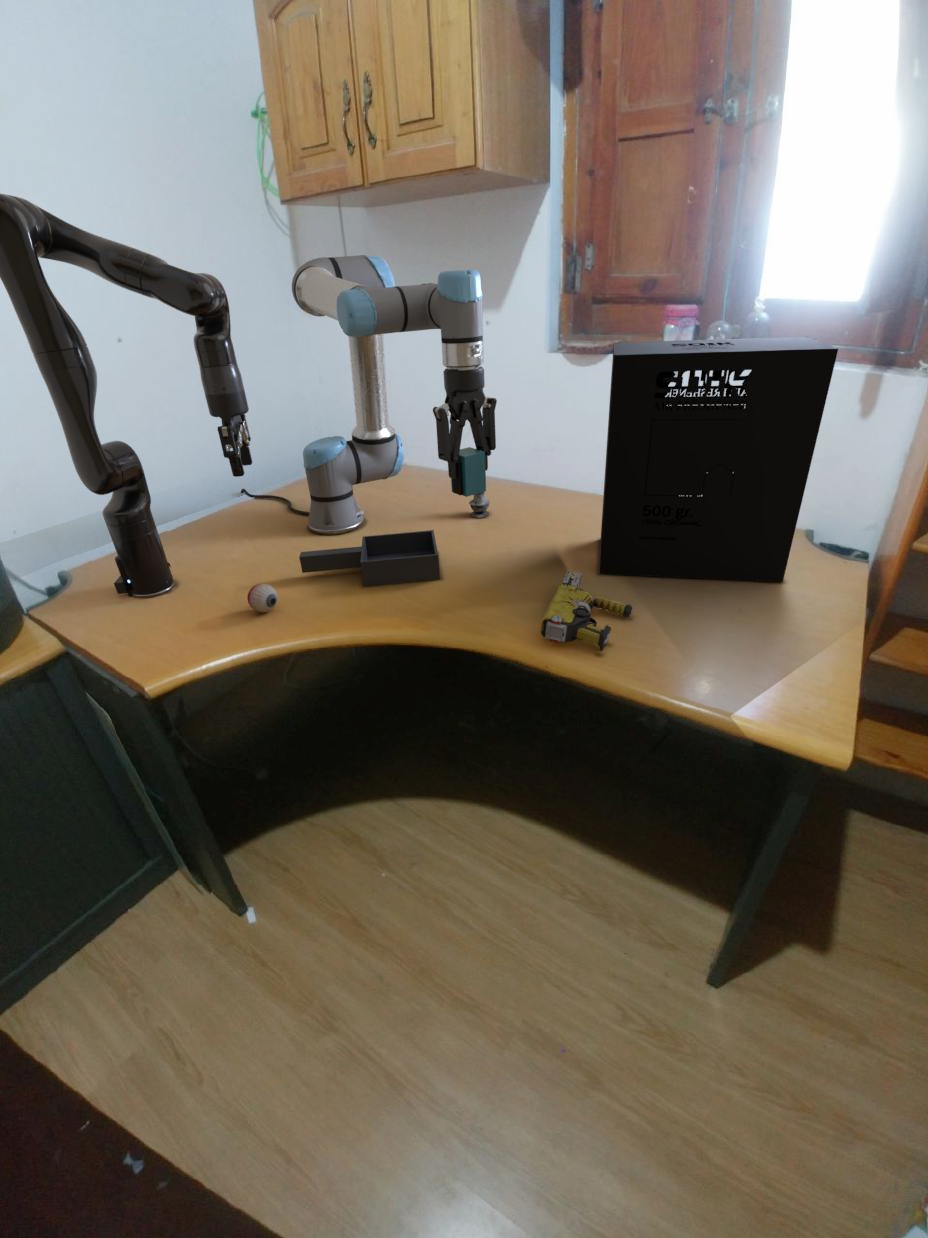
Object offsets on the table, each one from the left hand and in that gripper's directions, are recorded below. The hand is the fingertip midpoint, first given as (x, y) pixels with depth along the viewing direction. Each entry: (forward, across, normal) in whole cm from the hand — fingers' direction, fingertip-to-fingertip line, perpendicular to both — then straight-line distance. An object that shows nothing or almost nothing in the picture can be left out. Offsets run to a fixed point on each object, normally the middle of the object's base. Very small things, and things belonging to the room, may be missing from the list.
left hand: (243, 470), depth 127 cm
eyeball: (+26, -15, -2) cm, 30 cm away
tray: (+26, 0, -24) cm, 35 cm away
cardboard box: (+26, -10, -96) cm, 99 cm away
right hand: (+4, -12, -46) cm, 48 cm away
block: (+5, -12, -46) cm, 48 cm away
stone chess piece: (+26, +31, -54) cm, 67 cm away
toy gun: (+26, -32, -67) cm, 79 cm away
